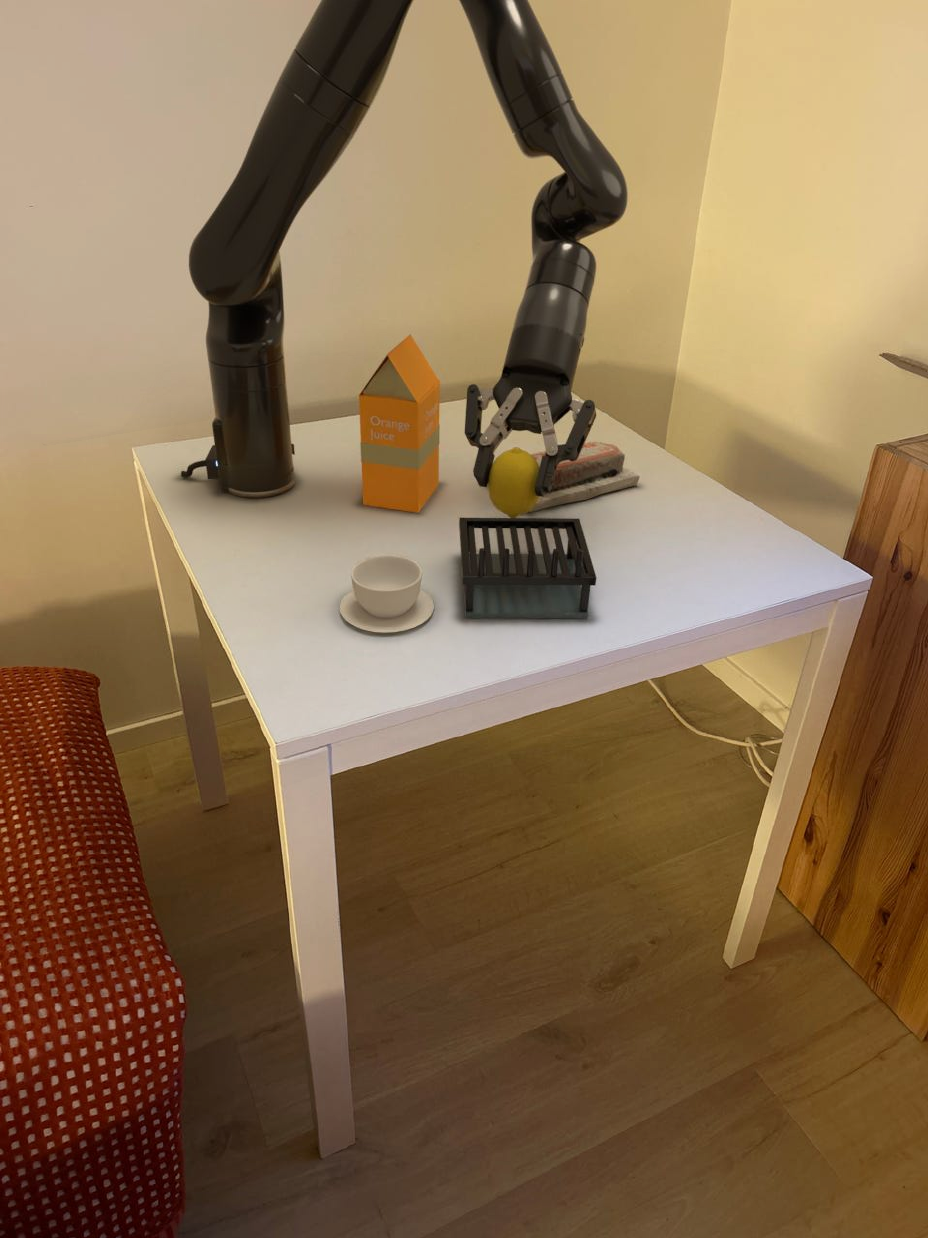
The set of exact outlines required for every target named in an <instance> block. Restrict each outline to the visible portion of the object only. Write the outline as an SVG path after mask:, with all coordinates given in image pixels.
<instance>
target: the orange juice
mask: <svg viewBox="0 0 928 1238" xmlns="http://www.w3.org/2000/svg"><path fill="white" fill-rule="evenodd" d="M440 386H441V381H440V379H439V378H438V377H437V375H436V372H434V369H432V367H431V365H430V364H429V362H428V360H427V359H426V357H425V356H424V354H423V351H422V350H421V349H420V347H419V346H418V344H417V342H416V341H415V339H414V338H413V336H412V334H411V333H410V334H409V335H407V336H406V337H404V339H403V340H402V341H400V342H399V343H398V344H397V345H396V346H395V347H394V348H392V349H391V350H390V351H389V352H388V353H387V354H386V355H385V357H384V358H383V359H382V361H381V362H380V364H379V366H378V367H377V368H376V370H375V371H374V373H373V374H372V376H371V377H370V379H369V380H368V382H367V383H366V385H364V387H363V389H362V390H361V392H360V393H359V395H358V404H359V407H358V408H359V427H360V428H359V429H360V432H359V433H360V462H361V484H362V485H361V486H362V505H363V506H370V507H376V508H381V509H388V510H389V509H390V510H397V511H401V512H409V513H415V514H419V513H420V512H421V510H422V509H423V507H425V505H426V503H427V502H428V501H429V499H430V498H431V496H432V495H433V494H434V493H435V491H436V490H437V488H438V487H439V484H440V483H439V481H440V474H439V473H440V431H441V430H440V429H441V428H440V426H441V425H440V395H441V394H440V393H441V391H440V389H441V387H440Z"/></svg>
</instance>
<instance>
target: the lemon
mask: <svg viewBox="0 0 928 1238" xmlns="http://www.w3.org/2000/svg"><path fill="white" fill-rule="evenodd" d="M530 454H531V453H529V452H528V451H525V450H523V449H521V448H520V447H519V446H517V447H516V446H515V447H512V449H508V450H505V451H503V452H501V454H499V455H498V456H497V457H496V458H495V459H494V461H493V465H492V468H491V470H490V474H489V480H488V485H487V488H488V495H489V499H490V501H491V503H492V505H493V506H494V507H495V508H496V509H497V510H498V511H499V512H501V513H502V514H505V515H507V516H508V518H518V517H519V516H522V515H524V514H526V513H528V512H529V510H531V509H532V508H533V507H534V505H535V504H536V502H537V501H538V498H539V496H537V495H536V493H535V485H536V481H537V476H538V472H539V465H538V463H537V461H536V460H535V458H534V457H533V456H532V455H530Z"/></svg>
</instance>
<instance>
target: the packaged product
mask: <svg viewBox="0 0 928 1238" xmlns="http://www.w3.org/2000/svg"><path fill="white" fill-rule="evenodd" d="M529 454H530V455H532V456H533V457H534V458H535V460H536V461H537V463H538V465H539V468H540V464H541V459H542V456H545V454H546V450H545V451H538V452H534V453H529ZM625 458H626V455H625V453H624V452H623V451H621V450H620V448H619V447H618V446H617V445H615V444H614V443H613V444H612V443H605V442H601V441H588V442H585V443H584V445H583V448H582V450H581V452H580V454H579V457H578V459H577V460H576V461H569V460H566V461H562V462H560V463H559V464H558V466H557V469H556V474H555V478H554V482H553V486H552V489H551V490H550V492H545V495H544V497H541V496H539V498H538V501H537V502H536V504H535V505H534V507H533V508H532V509H531V510H529V511H528V512H529V513H532V512H533V513H534V512H536V511H540V510H543V509H547V508H551V507H556V506H560V505H564V504H569V503H574V502H575V503H576V502H580V501H585V500H586V501H587V500H589V499H592V498H595V497H597V496H600V495H603V494H606V493H611V492H614V491H619V490H622V489H627V488H631V487H635V486H637V485H638V482H639V480H640V477H641V476H640V475H638V474H637V473H635V472H634V471H631V470H629V469H627V468H625V467H624V463H625Z"/></svg>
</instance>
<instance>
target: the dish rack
mask: <svg viewBox="0 0 928 1238" xmlns="http://www.w3.org/2000/svg"><path fill="white" fill-rule="evenodd" d="M458 521H459V523H458V526H459V528H458V529H459V544H460V562H461V583H462V585H463V601H464V617H465V618H466V619H467V618H468V619H588V617H589V612H588V611H589V602H590V594H591V587H592V586H597V574H596V571H595V568H594V564H593V561H592V558H591V554H590V550H589V548H588V547H589V546H588V543H587V540H586V536H585V533H584V530H583V527H582V526H583V525H582V523H581V519H580V518H575V517H574V518H573V517H572V518H571V517H569V518H565V517H564V518H562V517H561V518H559V517H555V518H554V517H516V518H510V517H459V518H458ZM475 529H481V534H482V535H481V537H482V544H483V545H482V546H483V547H481V548H479V549H478V553H477V544H476V530H475ZM490 529H495V533H496V542H497V549H498V553H492V548H491V539H490V531H489V530H490ZM504 529H507V530H509V533H510V539H511V546H512V552H513V553H511V549H510V548H508V547H506V543H505V535H504ZM519 529H521V530H523V532H524V539H525V543H526V549H527V553H522V552H521V547H520V540H519V535H518V530H519ZM532 530H537V534H538V537H539V542H540V548H541V553H536V549H535V544H534V539H533V538H534V537H533V533H532ZM546 530H551V532H552V538H553V542H554V546H555V548H553V550H552V553H551V550H550V545H549V541H548V538H547V532H546ZM560 530H565V532H566V536H567V544H566V545H567V546H566V552H565V548H564V544H563V539H562V535H561V531H560Z"/></svg>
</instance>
